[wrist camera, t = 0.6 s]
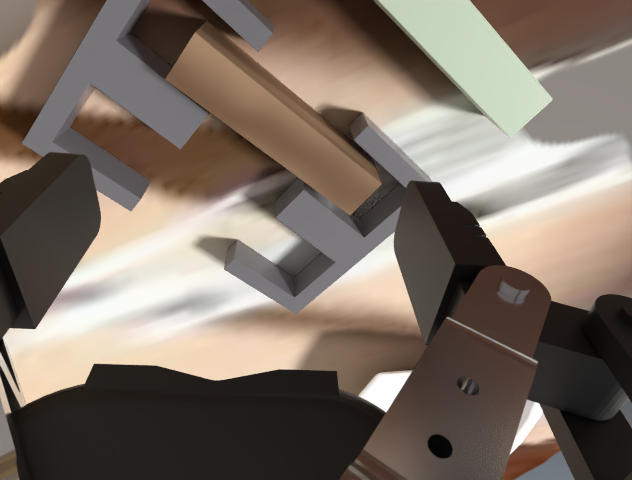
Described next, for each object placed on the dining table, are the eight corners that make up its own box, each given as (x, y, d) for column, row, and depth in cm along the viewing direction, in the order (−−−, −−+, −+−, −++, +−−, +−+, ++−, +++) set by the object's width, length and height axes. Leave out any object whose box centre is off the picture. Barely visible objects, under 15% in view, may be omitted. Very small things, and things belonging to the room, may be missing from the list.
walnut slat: (207, 20, 30) (194, 32, 25) (371, 156, 36) (381, 184, 32) (181, 61, 31) (165, 79, 27) (343, 185, 37) (350, 215, 33)
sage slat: (373, -89, 27) (389, -95, 23) (520, 80, 33) (553, 99, 29) (336, -38, 28) (344, -35, 24) (483, 114, 35) (510, 138, 30)
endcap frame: (167, -79, 26) (154, -81, 24) (429, 177, 37) (439, 193, 35) (41, 128, 33) (22, 143, 30) (295, 293, 44) (296, 314, 41)
